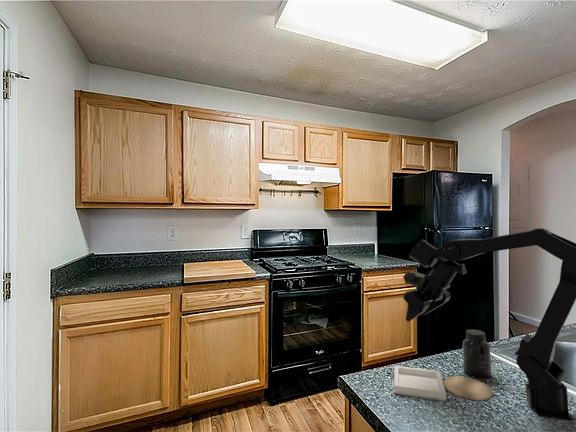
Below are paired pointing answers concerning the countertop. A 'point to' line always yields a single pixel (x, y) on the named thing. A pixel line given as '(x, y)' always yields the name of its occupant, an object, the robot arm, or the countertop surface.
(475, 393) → the cork coaster
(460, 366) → the countertop surface
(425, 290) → the robot arm
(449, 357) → the countertop surface
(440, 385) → the white tray
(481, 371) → the supplement bottle
